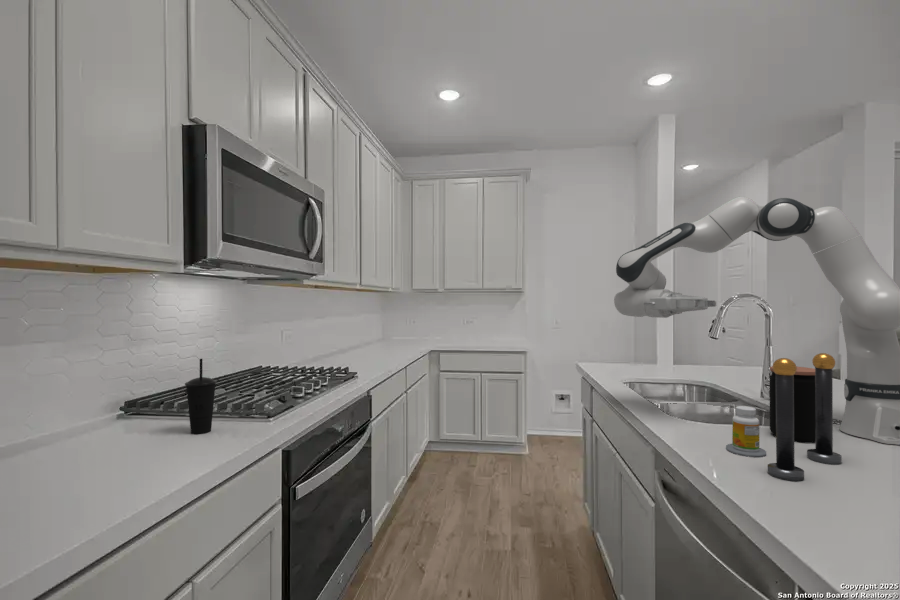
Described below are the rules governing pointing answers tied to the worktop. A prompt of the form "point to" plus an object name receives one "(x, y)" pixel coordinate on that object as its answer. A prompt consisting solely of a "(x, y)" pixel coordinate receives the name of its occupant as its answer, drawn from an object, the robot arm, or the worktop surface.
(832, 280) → the robot arm
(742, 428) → the supplement bottle
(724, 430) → the worktop surface
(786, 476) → the post
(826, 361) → the post
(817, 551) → the worktop surface
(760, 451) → the slate mat
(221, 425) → the worktop surface
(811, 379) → the coffee jar
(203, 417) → the drinking cup
